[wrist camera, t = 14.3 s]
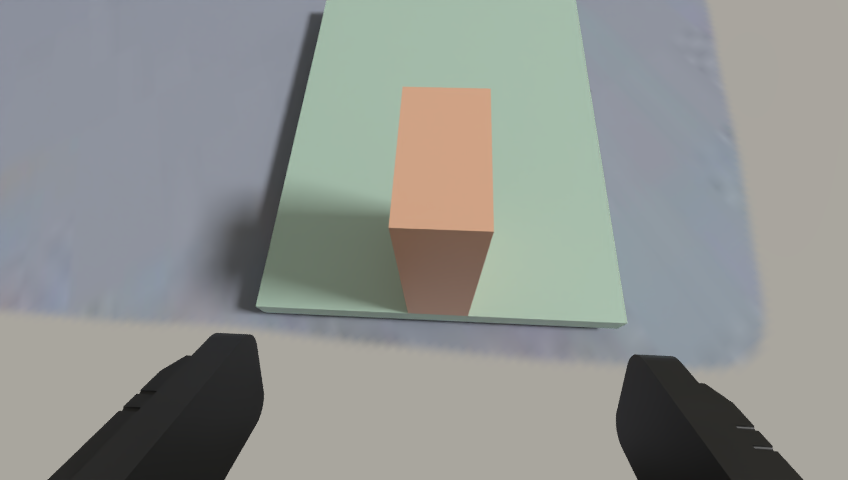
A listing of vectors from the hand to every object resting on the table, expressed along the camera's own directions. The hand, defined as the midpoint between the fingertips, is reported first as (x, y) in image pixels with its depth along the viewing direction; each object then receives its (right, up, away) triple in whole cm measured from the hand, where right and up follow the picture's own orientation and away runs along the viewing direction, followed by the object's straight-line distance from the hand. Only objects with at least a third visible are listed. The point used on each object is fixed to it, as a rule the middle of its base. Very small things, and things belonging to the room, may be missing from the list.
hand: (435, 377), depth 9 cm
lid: (+1, +7, +10) cm, 12 cm away
